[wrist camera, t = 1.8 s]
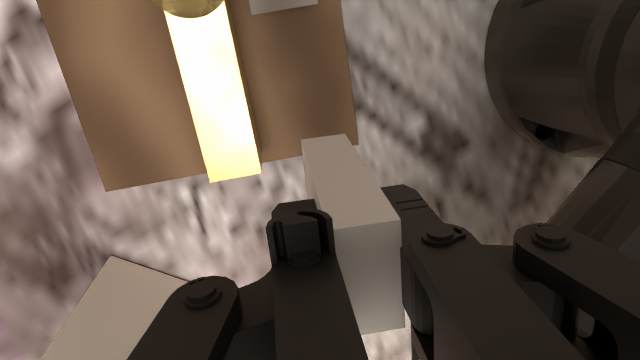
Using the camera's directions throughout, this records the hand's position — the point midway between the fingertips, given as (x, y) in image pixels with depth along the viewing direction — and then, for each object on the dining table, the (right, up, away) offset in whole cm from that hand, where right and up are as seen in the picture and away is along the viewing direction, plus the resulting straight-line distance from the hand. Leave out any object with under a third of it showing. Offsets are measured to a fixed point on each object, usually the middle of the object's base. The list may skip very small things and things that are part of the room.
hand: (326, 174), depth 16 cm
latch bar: (-7, +7, +12) cm, 16 cm away
